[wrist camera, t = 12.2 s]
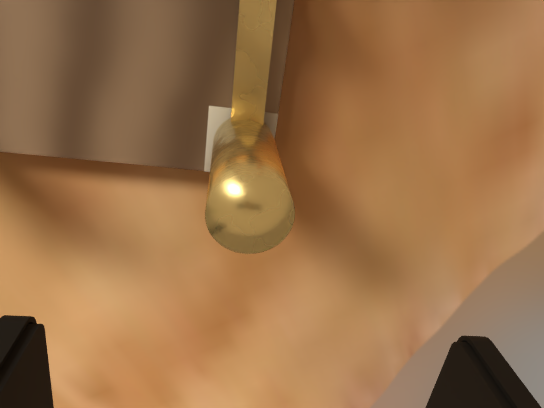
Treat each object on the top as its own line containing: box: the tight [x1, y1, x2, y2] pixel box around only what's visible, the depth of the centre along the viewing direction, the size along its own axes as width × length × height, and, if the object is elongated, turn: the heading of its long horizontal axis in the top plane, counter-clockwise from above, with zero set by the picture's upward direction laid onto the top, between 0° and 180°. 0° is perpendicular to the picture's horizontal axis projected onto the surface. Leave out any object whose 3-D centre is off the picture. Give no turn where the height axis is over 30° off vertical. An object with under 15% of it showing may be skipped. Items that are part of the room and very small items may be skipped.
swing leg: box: [205, 0, 295, 254], centre depth 19 cm, size 13×4×9 cm, turn 173°
